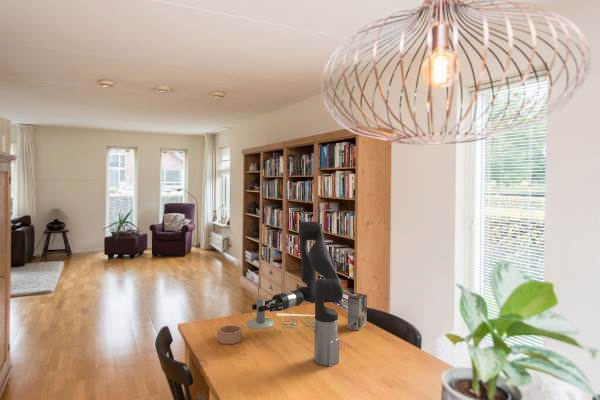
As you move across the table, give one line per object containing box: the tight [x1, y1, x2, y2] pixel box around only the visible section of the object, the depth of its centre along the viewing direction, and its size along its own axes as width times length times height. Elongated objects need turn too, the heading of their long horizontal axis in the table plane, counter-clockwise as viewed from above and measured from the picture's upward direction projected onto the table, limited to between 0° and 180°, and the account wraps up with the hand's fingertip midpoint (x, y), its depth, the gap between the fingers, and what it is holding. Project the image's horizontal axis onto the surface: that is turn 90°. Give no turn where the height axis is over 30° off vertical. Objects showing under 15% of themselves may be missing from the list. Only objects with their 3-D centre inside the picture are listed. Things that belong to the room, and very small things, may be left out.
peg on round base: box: [246, 297, 275, 330], centre depth 174 cm, size 12×12×11 cm
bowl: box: [217, 324, 243, 345], centre depth 180 cm, size 10×10×5 cm
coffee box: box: [347, 292, 368, 331], centre depth 200 cm, size 9×6×16 cm
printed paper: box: [276, 312, 315, 331], centre depth 203 cm, size 30×30×2 cm
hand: (255, 308), depth 172 cm, fingers closed on peg on round base, 3 cm apart
